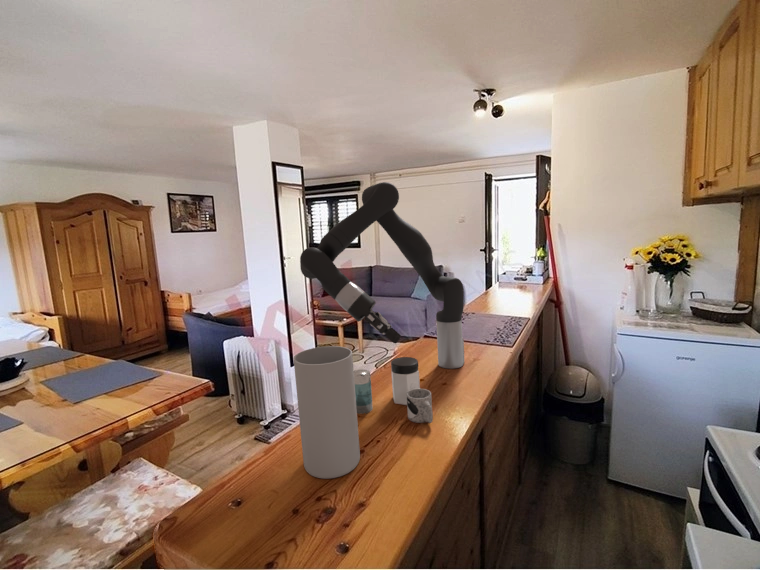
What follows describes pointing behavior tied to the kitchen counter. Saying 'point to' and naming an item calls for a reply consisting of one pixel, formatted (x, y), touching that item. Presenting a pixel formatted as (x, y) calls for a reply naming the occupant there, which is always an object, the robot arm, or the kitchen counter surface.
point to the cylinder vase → (327, 411)
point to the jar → (404, 378)
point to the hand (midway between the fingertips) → (398, 339)
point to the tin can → (363, 391)
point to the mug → (419, 406)
